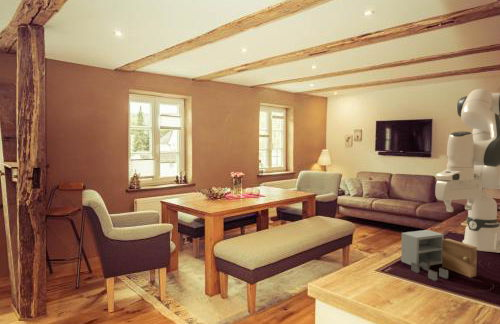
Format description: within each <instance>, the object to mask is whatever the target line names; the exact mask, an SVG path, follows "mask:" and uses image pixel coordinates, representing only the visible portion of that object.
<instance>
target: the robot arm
mask: <svg viewBox="0 0 500 324" xmlns="http://www.w3.org/2000/svg"><path fill="white" fill-rule="evenodd" d="M455 108H456V113H457V116H459V117H460V119H461V121H462V123H463V124H464V125H466V126H467V127H469V128H470V129H472V132H471V131H454V132H452V133H450V134H449V135H448V139H447V145H446V146H447V147H446V158H447V163H446V169H444V170H442V171H441V172H438V173H436V174H435V179H436V180H437V181H436V183H435V193H434V194H435V197H436V200H438V201H443V204H444V205H445V209H446V210H445V211H446V212H448V213H453V212H454V207H452V201H457V200H459V201H460V200H466V204H464V210H465V211H467V213H468V214H467V216H466V224H467V225H466V227H465V231H464V239H462V241H461V242H462V243H465V244H469V245H472V246H475V247H477V251H479V252H489V253H490V252H491V253H498V254H499V253H500V218H497V217H498V215H497V213H498V204H497V201H496V200H495V199H494V198H492V197H491V196H490V195H486V194H485V193H484V190H483V189H491V190H492V189H493V190H500V92H491V91H490V90H488V89H486V88H477V89H473V90H472V91H471V92H470V93H468V95H466V96H462V97H461V98H459V99H458V101H457V103H456V107H455Z"/></svg>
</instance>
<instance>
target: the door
mask: <svg viewBox="0 0 500 324" xmlns="http://www.w3.org/2000/svg"><path fill="white" fill-rule="evenodd" d="M477 252H478V250H477V247H475V246H472V245H469V244H465V243H463V242H462V241H457V240H454V239H451V238H444V239H442V265H441V268H444V269H446V270H450V271H453V272H455V273H458V274H460V275H463V276H466V277H469V278H474V277H477V261H478V260H477V258H478V255H477V254H478V253H477Z"/></svg>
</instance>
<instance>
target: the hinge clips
mask: <svg viewBox="0 0 500 324" xmlns="http://www.w3.org/2000/svg"><path fill="white" fill-rule="evenodd" d="M410 266H411V267H410V271H412V272H413V273H416V274H419V273H420V267H419V265H418V264H416V263H411V265H410ZM421 270H424V271H426V272H427V278H428V279H430V280H432V281H434V282H436V281H438V276H439V277H441V278H442V279H446V280H448V279H449V269H447V268H444V267H439V268H438V271H435V270H432V269H431V265H430V263H428V262H425V261H422V267H421Z"/></svg>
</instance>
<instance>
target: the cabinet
mask: <svg viewBox="0 0 500 324" xmlns="http://www.w3.org/2000/svg"><path fill="white" fill-rule="evenodd" d="M444 236H445V235H444V233H442V232H441V233H440V232H437V231H433V230H429V229H424V230H423V229H422V230H415V231H414V230H413V231H406V232H401V244H400V245H401V249H400V251H401V255H400V258H401V259H400V261H401V262H402V263H405V264H406V265H409V266H411V263H416V264H418V265H419V268H422V261H425V262H428V263H430V266H434V265H441V264H442V239H445V237H444Z"/></svg>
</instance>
